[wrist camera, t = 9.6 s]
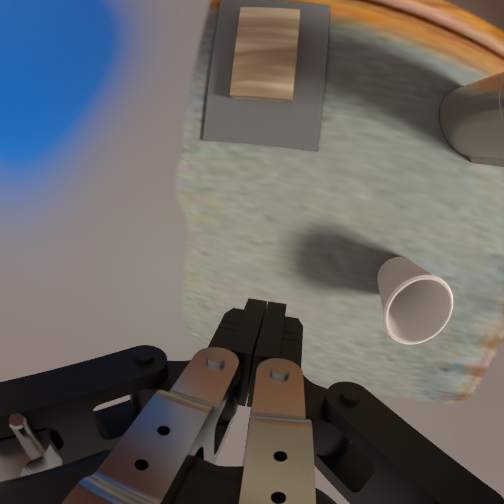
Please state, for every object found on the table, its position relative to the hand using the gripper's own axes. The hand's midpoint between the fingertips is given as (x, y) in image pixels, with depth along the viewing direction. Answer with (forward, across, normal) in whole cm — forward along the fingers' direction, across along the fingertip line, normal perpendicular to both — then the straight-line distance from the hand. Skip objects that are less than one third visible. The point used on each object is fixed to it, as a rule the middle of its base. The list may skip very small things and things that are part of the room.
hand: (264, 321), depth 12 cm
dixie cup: (+27, -15, +7) cm, 32 cm away
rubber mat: (+27, +5, -17) cm, 32 cm away
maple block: (+25, +5, -13) cm, 28 cm away
